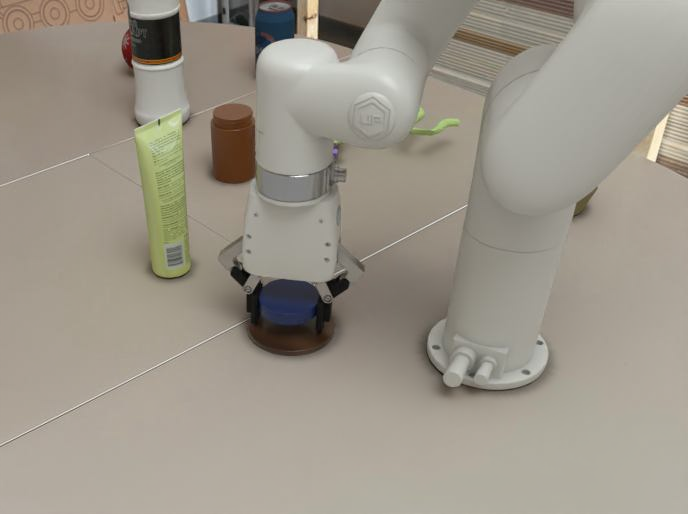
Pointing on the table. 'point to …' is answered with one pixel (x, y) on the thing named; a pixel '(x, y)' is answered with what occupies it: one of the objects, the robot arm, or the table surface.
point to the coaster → (290, 336)
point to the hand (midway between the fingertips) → (288, 319)
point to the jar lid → (288, 301)
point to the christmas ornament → (127, 49)
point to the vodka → (157, 59)
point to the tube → (164, 193)
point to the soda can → (273, 24)
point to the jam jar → (233, 143)
